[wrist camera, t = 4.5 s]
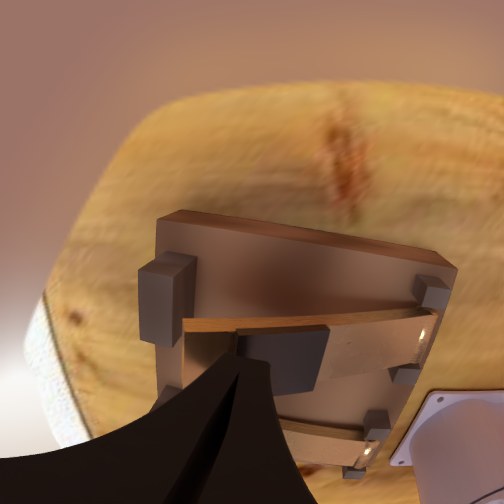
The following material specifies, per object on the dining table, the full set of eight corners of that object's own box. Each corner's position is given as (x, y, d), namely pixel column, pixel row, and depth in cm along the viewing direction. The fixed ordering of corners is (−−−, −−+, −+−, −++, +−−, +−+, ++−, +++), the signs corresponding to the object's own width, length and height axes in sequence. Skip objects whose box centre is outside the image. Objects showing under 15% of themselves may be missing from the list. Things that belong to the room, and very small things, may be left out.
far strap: (381, 430, 15) (383, 447, 14) (366, 457, 16) (366, 473, 14) (199, 395, 17) (190, 410, 16) (198, 424, 18) (190, 438, 16)
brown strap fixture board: (435, 252, 15) (485, 292, 10) (365, 436, 19) (372, 499, 14) (180, 209, 17) (125, 232, 12) (176, 404, 21) (144, 460, 16)
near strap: (427, 302, 13) (447, 315, 12) (410, 351, 14) (427, 365, 12) (182, 313, 10) (185, 336, 9) (181, 376, 11) (185, 402, 9)
